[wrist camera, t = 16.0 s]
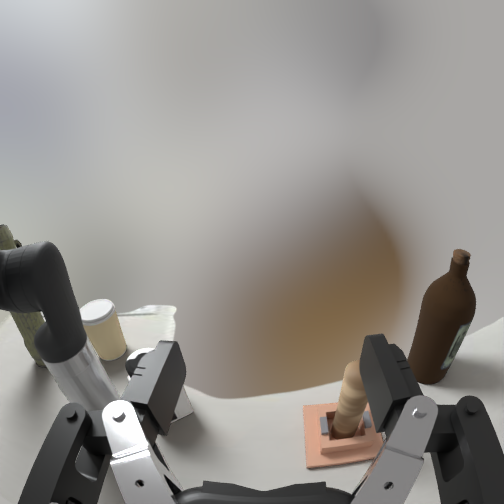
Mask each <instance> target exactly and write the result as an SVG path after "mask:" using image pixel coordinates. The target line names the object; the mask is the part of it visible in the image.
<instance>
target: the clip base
mask: <svg viewBox="0 0 504 504" xmlns="http://www.w3.org/2000/svg"><path fill="white" fill-rule="evenodd" d="M337 405H338V403H329V404H318V405H306V406H303V416H304V431H305V448H306V468H315V467H325V466H333V465H340V464H347V463H353V462H359V461H364V460H369V459H374V458H375V457H376V455H377V453H378V452H379V450H380V448H381V446H382V444H383V440H382V436H381V433H376V430H375V426H374V422H373V418H372V414H371V410H370V407H369V403H367V406H366V408H365V411H364V414H363V416H362V419H361V421H360V424H359V426H358V428H357V431H356V433H355V435H354V436H353V438H346V439H339V440H336V439H335V438H334V437H333V436H332V434H331V428H332V425H333V421H334V417H335V413H336V409H337Z"/></svg>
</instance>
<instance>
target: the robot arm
mask: <svg viewBox="0 0 504 504" xmlns="http://www.w3.org/2000/svg"><path fill="white" fill-rule="evenodd" d="M0 309H1V310H6V311H10V312H15V313H32V312H40V311H42V312H43V314H44V317H45V320H46V322H44V323H43V324H42V325H41V326H40V327H39V329H38V330H37V332H36V333H35V336H34V345H35V348H36V350H37V352H38V353H39V355H40V357H41V358H42V360H43V362H44V363H45V365H46V367H47V368H48V370H49V371H50V373H51V374H52V376H53V377H54V379H55V380H56V382H57V383H58V386H59V388H60V390H61V391H62V392H63V394H64V395H65V396H66V398H67V399H68V401H69V402H70V403H69V404H66V405H65V406H64V407H62V409H61V410H60V412H59V414H58V415H57V417H56V419H55V421H54V423H53V425H52V427H51V429H50V431H49V433H48V435H47V437H46V439H45V441H44V443H43V445H42V447H41V449H40V452H39V454H38V456H37V458H36V460H35V462H34V465H33V467H32V469H31V472H30V474H29V476H28V479H27V481H26V484H25V486H24V489H23V491H22V494H21V497H20V499H19V502H18V504H97V502H98V499H99V495H100V492H101V489H102V485H103V482H104V479H105V476H106V473H107V470H108V467H109V464H111V467H112V470H113V473H114V476H115V479H116V481H117V484H118V486H119V489H120V492H121V494H122V496H123V499H124V501H125V504H404V502H405V500H406V498H407V496H408V494H409V492H410V490H411V488H412V486H413V484H414V482H415V480H416V478H417V476H418V474H419V472H420V470H421V467H422V465H423V462H424V458H422V456H423V453H425V452H430V453H431V457H432V461H433V466H434V470H435V475H436V479H437V484H438V490H439V495H440V501H441V504H504V454H503V451H502V448H501V445H500V443H499V440H498V437H497V435H496V432H495V430H494V427H493V425H492V422H491V420H490V418H489V415H488V413H487V411H486V409H485V407H484V404H483V403H482V401H481V400H480V399H478V398H477V397H474V396H465V397H463V398H461V399H460V400H459V401H458V403H457V404H456V405H438V404H436V403H435V402H434V400H432V399H431V398H429V397H427V396H424V395H423V393H422V391H421V389H420V387H419V384H418V382H417V380H416V378H415V376H414V374H413V372H412V369H410V365H409V363H408V361H407V359H406V357H405V355H404V353H403V351H402V350H401V349H400V348H399V347H398V346H396V345H395V344H388V342H387V340H386V338H385V336H384V335H383V334H376V335H368V336H366V337H365V339H364V344H363V348H362V353H361V358H360V362H359V370H360V375H361V379H362V382H363V385H364V389H365V392H366V396H367V399H368V403H369V407H370V410H371V414H372V418H373V422H374V426H375V430H376V433H381V432H385V434H386V439H385V441H384V443H383V444H382V446H381V448H380V450H379V452H378V453H377V455H376V457H375V459H374V460H373V462H372V464H371V465H370V467H369V469H368V470H367V472H366V473H365V475H364V476H363V478H362V479H361V481H360V482H359V483H358V485H357V486H356V488H355V489H354V490H353V492H352V493H351V494H350V493H347V492H345V491H342V490H339V489H335V488H329V487H326V482H317V483H305V484H294V485H290V486H286V487H282V488H278V489H273V490H269V491H259V490H255V489H251V488H247V487H243V486H239V485H236V484H231V483H219V482H210V481H203V486H202V487H195V488H191V489H187V490H184V489H183V488H182V486H181V485H180V483H179V482H178V480H177V479H176V478H175V476H174V475H173V473H172V471H171V469H170V467H169V466H168V464H167V462H166V460H165V458H164V456H163V454H162V452H161V450H160V448H159V446H158V444H157V442H156V438H157V435H158V434H160V435H166V436H167V433H168V430H169V427H170V424H171V421H172V417H173V414H174V411H175V408H176V405H177V402H178V399H179V396H180V393H181V390H182V387H183V384H184V381H185V377H186V366H185V363H184V359H183V357H182V353H181V351H180V347H179V344H178V343H177V342H176V341H159V343H158V344H157V346H156V348H155V350H154V351H149V352H148V353H147V354H145V355H144V356H143V357H142V358H141V360H140V362H139V364H138V366H137V368H136V370H135V371H134V375H132V377H131V379H130V381H129V383H128V385H127V387H126V389H125V391H124V393H123V395H122V397H120V395H119V393H118V392H117V390H116V388H115V387H114V385H113V383H112V381H111V380H110V378H109V376H108V375H107V373H106V371H105V369H104V367H103V365H102V364H101V362H100V360H99V358H98V356H97V354H96V352H95V350H94V348H93V346H92V344H91V342H90V340H89V338H88V336H87V334H86V331H85V329H84V327H83V323H82V318H81V314H80V310H79V307H78V305H77V302H76V299H75V296H74V293H73V290H72V287H71V283H70V280H69V276H68V273H67V269H66V266H65V263H64V260H63V258H62V256H61V254H60V252H59V250H58V249H57V247H56V246H55V245H54V244H53V243H51V242H48V241H44V242H38V243H34V244H30V245H26V246H23V247H19V248H15V249H11V250H0ZM81 446H82V447H81ZM80 448H81V450H80ZM79 451H80V452H79ZM78 453H79V455H78ZM112 455H113V458H112ZM77 456H78V457H77ZM76 458H77V460H76ZM75 461H76V462H75Z"/></svg>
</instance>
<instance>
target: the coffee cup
mask: <svg viewBox="0 0 504 504" xmlns="http://www.w3.org/2000/svg"><path fill="white" fill-rule="evenodd" d="M80 314H81V318H82V323H83V327H84V329H85V331H86V334H87V336H88V338H89V340H90V341H91V343H92V345H93V347H94V348H95V350H96V352H97V353H98V355H99V356H100V358H101V359H103V360H106V361H111V360H115V359H118V358H120V357H121V356H122V355H123V354H124V353H125V352H126V349H127V346H126V342H125V339H124V336H123V333H122V330H121V327H120V324H119V320H118V317H117V314H116V311H115V306H114V304H113V303H112V302H111V301H110V300H107V299H99V300H95V301H92V302H89V303H88V304H86V305H84V306H83V307H82V308H81V309H80Z"/></svg>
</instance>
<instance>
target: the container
mask: <svg viewBox="0 0 504 504" xmlns="http://www.w3.org/2000/svg"><path fill="white" fill-rule="evenodd" d="M154 350H155V349H153V348H143V349H140V350H137V351H135V352H134V353H132V354H131V355H130V356H129V357H128V359H127V361H126V365H125V367H126V370H127V372H128V374H129V376H128V377H127V378H128V381H130V379H131V377H132V375H134V371H135V370H136V368H137V366H138V364H139V362H140V360H141V358H142V357H143V356H144V355H145V354H147V353H148V352H149V351H154ZM191 413H193V408H192V406H191V403H190V401H189V399H188V396H187V394H186V391H185V389H184V386H183V387H182V390H181V393H180V396H179V399H178V402H177V405H176V408H175V411H174V414H173V417H172V421H171V423H173V422H175V421H177V420H179V419H181V418H183V417H185V416H187V415H189V414H191Z"/></svg>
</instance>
